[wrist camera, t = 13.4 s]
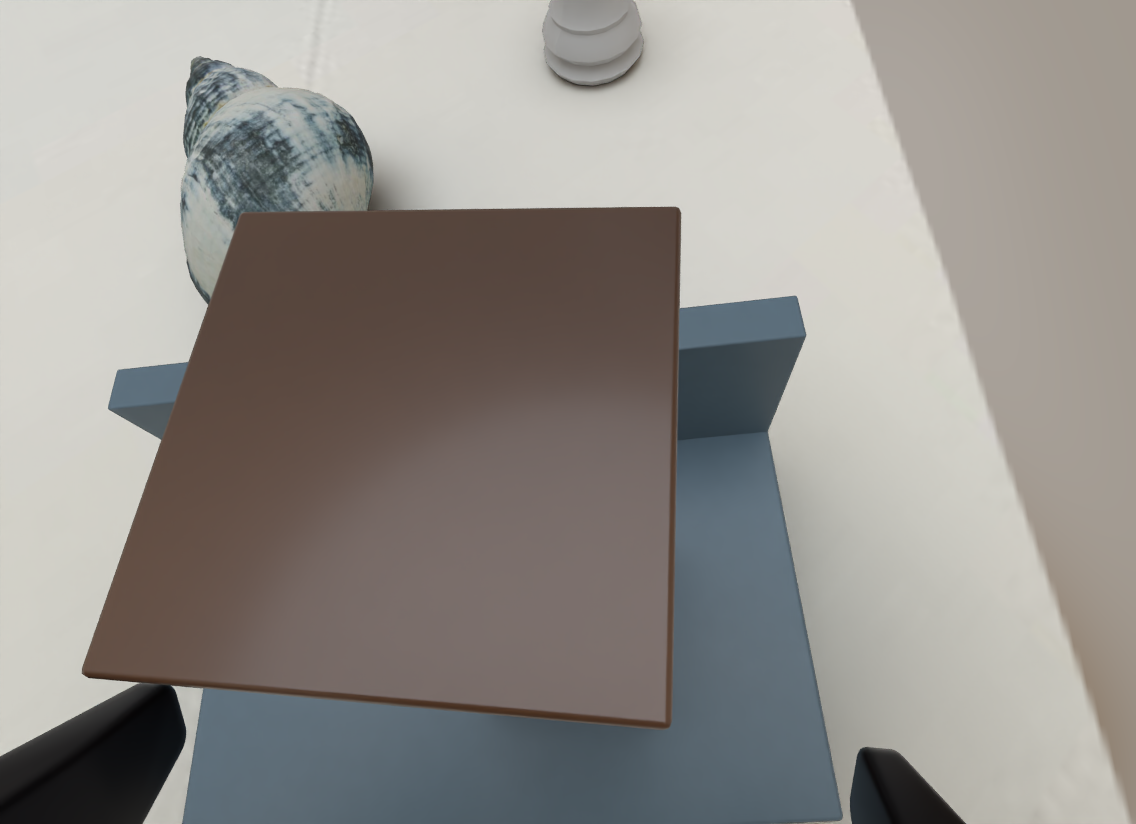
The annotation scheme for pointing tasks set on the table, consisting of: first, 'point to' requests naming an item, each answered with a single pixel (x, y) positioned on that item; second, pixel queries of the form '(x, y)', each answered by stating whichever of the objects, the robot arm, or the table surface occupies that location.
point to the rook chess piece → (592, 39)
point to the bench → (570, 749)
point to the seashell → (261, 159)
